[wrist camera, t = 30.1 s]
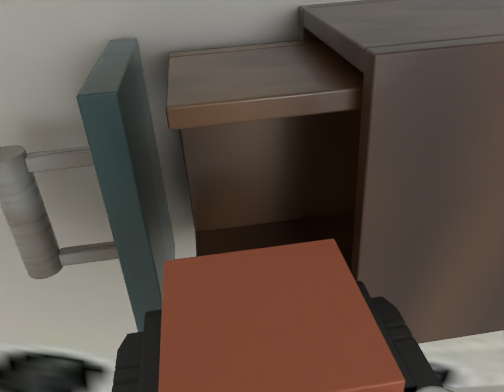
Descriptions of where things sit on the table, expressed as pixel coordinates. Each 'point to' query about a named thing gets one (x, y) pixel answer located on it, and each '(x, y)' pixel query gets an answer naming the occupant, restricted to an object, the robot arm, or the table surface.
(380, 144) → the box
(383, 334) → the robot arm
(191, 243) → the table surface
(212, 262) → the block
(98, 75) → the drawer
